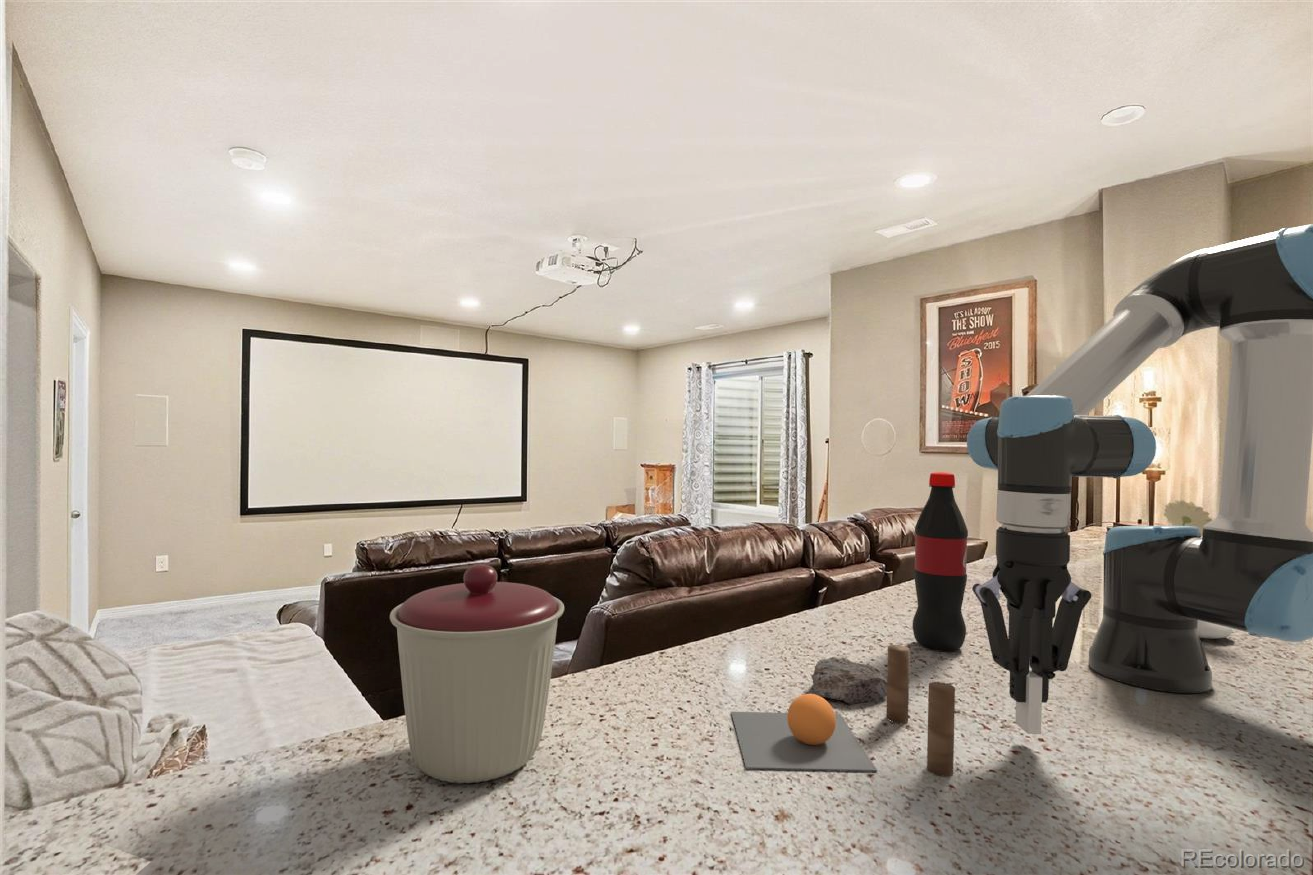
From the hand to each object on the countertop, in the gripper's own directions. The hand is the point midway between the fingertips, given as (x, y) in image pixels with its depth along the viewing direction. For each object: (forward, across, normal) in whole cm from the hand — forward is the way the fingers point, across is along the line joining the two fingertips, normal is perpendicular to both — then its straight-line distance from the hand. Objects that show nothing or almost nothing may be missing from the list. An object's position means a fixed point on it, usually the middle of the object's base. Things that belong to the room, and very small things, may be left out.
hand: (1028, 728), depth 77 cm
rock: (+3, -17, +15) cm, 22 cm away
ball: (-1, -26, -1) cm, 26 cm away
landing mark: (+2, -27, 0) cm, 27 cm away
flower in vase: (+2, +57, +47) cm, 74 cm away
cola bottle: (+2, +5, +36) cm, 36 cm away
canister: (+2, -63, -6) cm, 63 cm away
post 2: (+2, -13, -6) cm, 15 cm away
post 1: (+2, -13, +6) cm, 15 cm away
